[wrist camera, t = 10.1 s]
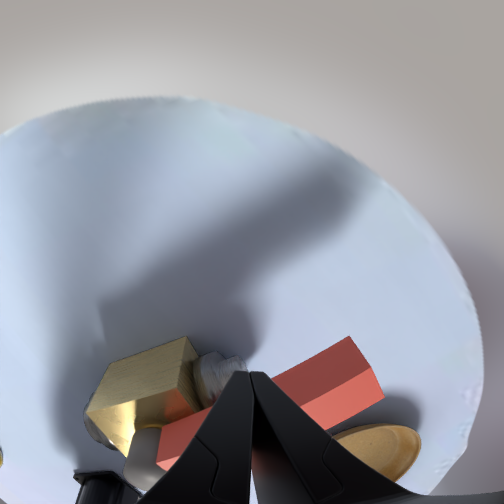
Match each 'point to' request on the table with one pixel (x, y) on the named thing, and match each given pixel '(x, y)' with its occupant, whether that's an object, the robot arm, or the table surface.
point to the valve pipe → (155, 391)
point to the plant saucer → (383, 447)
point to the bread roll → (1, 459)
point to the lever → (293, 384)
